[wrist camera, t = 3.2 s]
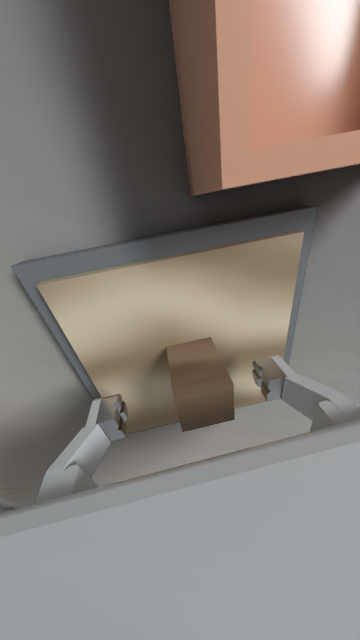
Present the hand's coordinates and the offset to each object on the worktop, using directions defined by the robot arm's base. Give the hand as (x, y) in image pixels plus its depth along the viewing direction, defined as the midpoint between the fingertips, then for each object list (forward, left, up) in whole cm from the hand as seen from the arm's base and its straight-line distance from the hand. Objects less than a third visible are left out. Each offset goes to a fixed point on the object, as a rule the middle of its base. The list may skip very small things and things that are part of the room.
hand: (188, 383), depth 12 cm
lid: (0, -1, -3) cm, 3 cm away
